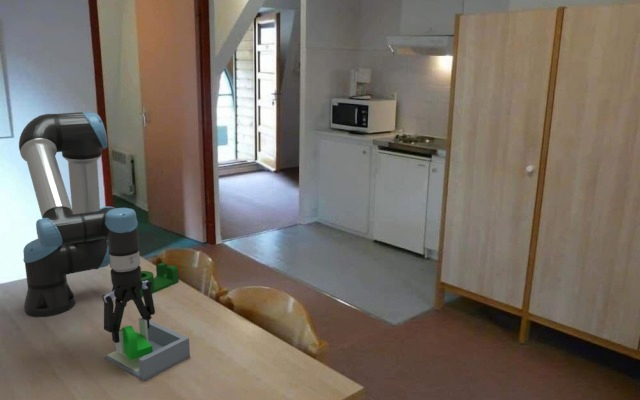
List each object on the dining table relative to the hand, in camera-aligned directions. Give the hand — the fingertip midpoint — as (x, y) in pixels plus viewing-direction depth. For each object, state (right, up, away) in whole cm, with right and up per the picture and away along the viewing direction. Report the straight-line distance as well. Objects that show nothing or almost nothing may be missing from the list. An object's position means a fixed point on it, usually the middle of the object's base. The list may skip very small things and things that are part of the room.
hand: (132, 346), depth 148 cm
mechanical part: (0, -1, 0) cm, 1 cm away
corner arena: (+3, -4, +2) cm, 6 cm away
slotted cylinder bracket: (-10, +8, +49) cm, 51 cm away
